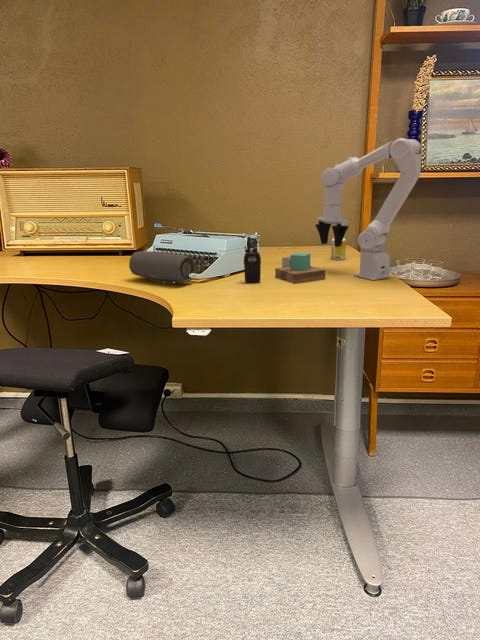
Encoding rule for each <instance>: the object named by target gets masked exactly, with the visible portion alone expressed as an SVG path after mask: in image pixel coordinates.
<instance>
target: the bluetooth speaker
mask: <svg viewBox="0 0 480 640" xmlns="http://www.w3.org/2000/svg"><path fill="white" fill-rule="evenodd" d="M128 267H129V270H130V272H131V273H132V274H133V275H134V276H138V277H142V278H146V279H149V281H150V282H152V281H154V282H153V283H158V282H165V283H173V282H176V283H178V282H179V283H188V282H190V281H192V280H193V279H194V278H191V277H189V274H191V273H195V272H196V273H197V265H196V263H195V260H194V259H193V257H191V256H189V255H184V254H178V253H171V252H163V251H142V250H141V251H135V252H133V253H132V255H131V257H130V258H129V263H128ZM196 273H195V274H196ZM165 283H164V284H165Z"/></svg>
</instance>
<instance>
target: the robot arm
mask: <svg viewBox="0 0 480 640" xmlns="http://www.w3.org/2000/svg"><path fill="white" fill-rule="evenodd" d="M423 154H424V151H423V148H422V145H421V143H420V142H419V141H418V140H417V139H413V138H403V137H400V138H397V139H395V140H393V141H388V142H387V143H385V144H383V145H382V146H380V147H378V148H376V149H375V150H373V151H371V152H369V153H367V154H366V155H363V156H361V157H360V158H358V157H356V156H353V157H352V156H349V157H347V158H346V161H343V162H342V163H336V164H334V166H333V167H334V168H333V167H327V168H326V169H325V170H324V171H323V172H322V174H321V178H320V179H321V182H322V184H323V215H322V216H317V217H316V223H315V228H316V229H317V232H318V235H319V239H320V244H321V245H327V244H328V242H329V241H328V240H329V232H330V230H331V229H332V232H333V238H334V243H335V247H338V246H341V244H342V240H343V237H344V238H345V234H346V232H347V231H348V229H349V225H348V222H349V220H348V219H345V218H343V217H341V209H342V207H341V206H342V188H343V187H342V186H343V184H344V182H347V181H348V180H351V179H352V178H355V177H357V176H359V175H361V174H362V173H363V170H364V168H367V167H369V166H371V165H374V164H376V163H378V162H380V161H381V162H382V161H383V160H385V159H392V160H393V161H394V163H395V164H396V165H397V167H398V170H399V171H398V172H399V174H400V175H399V176H398V178H397V180H396V182H395V184H394V185H393V187H392V189H391V190H390V192H389V194H388V196H387V197H386V198H385V200H384V203H383V204H382V206H381V207H380V209H379V211H378V213H377V215H376V216H375V218H374V220H373V221H372V222H370V223H369V224H368V225H367V227H366V229H364V231H362V232H361V233H359V235H358V236H357V243H358V246H359V247H360V258H359V259H360V260H359V272H358V273H357V272H356V273H354V274H353V276H355V277H356V276H357V277H359V278H364V279H367V280H372V281H376V280H383V279H387V278H388V279H389V278H392V275H390V270H391V269H390V267H391V258H390V254H389V253H387V252H386V251H384V245H385V244H386V242H387V240H388V234H389V232H390V230H391V228H390V227H391V225H392V222H393V221H394V219H395V217H397V214H398V213H399V211H400V209H401V208H402V206H403V204H404V203H405V202H406V200H407V198H408V196H409V195H410V193H411V191H412V190H413V188H414V187H415V185H416V183H417V181H418V180H419V178H420V176H421V172H422V171H421V170H422V158H423Z"/></svg>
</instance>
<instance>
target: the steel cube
mask: <svg viewBox="0 0 480 640" xmlns="http://www.w3.org/2000/svg"><path fill="white" fill-rule="evenodd" d="M281 266H282V267H281V268H283V267H290V266H291V256H285V257H282V258H281Z"/></svg>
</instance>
